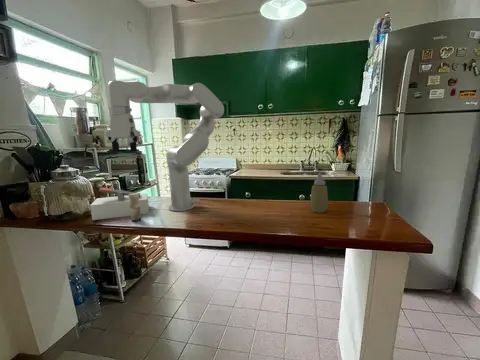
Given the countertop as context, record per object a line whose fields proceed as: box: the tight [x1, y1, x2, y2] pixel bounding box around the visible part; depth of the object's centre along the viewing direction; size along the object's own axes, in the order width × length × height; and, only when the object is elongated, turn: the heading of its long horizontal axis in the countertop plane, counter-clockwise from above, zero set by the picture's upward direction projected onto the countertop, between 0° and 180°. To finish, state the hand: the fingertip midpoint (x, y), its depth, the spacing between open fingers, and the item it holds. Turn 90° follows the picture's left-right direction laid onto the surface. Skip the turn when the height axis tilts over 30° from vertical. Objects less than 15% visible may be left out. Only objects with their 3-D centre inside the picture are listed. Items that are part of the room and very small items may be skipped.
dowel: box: [129, 192, 142, 223], centre depth 108 cm, size 4×4×12 cm
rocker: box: [98, 187, 141, 197], centre depth 119 cm, size 18×5×1 cm, turn 110°
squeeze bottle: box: [309, 172, 329, 214], centre depth 112 cm, size 8×8×18 cm
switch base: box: [89, 189, 150, 221], centre depth 120 cm, size 24×14×11 cm, turn 110°
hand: (124, 151), depth 108 cm, fingers open, 9 cm apart
